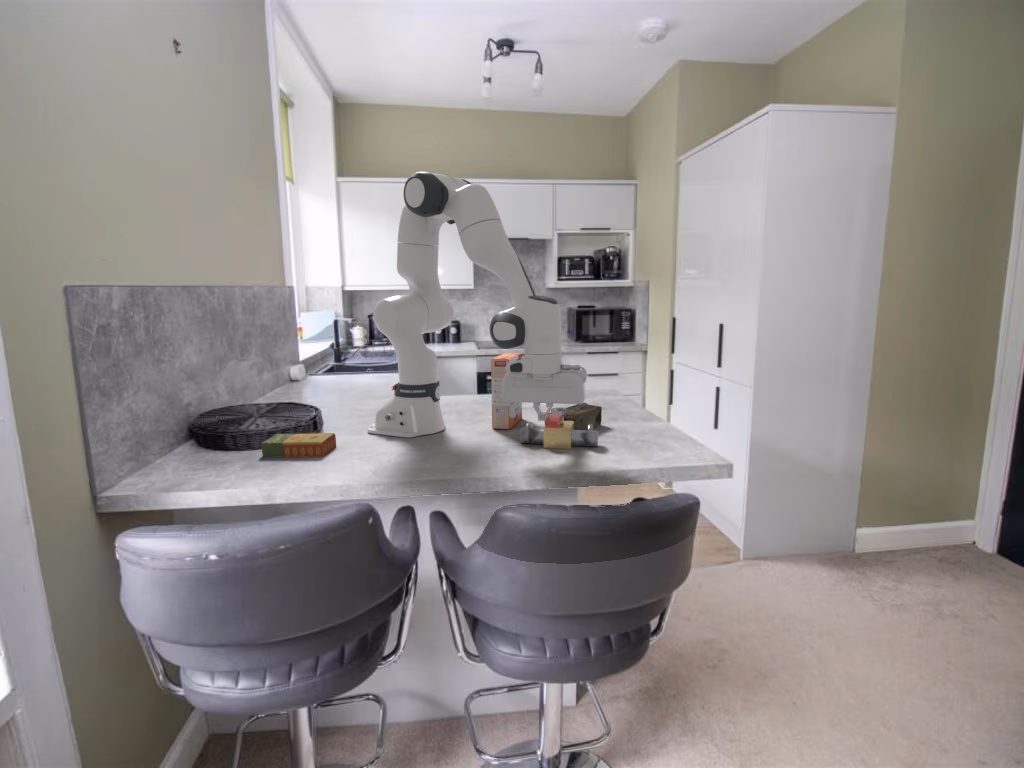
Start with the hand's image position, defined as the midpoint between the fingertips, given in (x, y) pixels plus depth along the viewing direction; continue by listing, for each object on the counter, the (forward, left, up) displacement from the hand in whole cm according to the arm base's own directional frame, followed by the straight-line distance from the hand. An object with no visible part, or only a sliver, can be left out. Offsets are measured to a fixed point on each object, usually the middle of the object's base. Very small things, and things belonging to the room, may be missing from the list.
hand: (543, 420), depth 126 cm
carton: (-62, -9, -9) cm, 64 cm away
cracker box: (-15, +26, -9) cm, 32 cm away
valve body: (+3, +8, -8) cm, 12 cm away
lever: (+3, +3, -1) cm, 4 cm away
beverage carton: (+5, +23, -9) cm, 25 cm away
